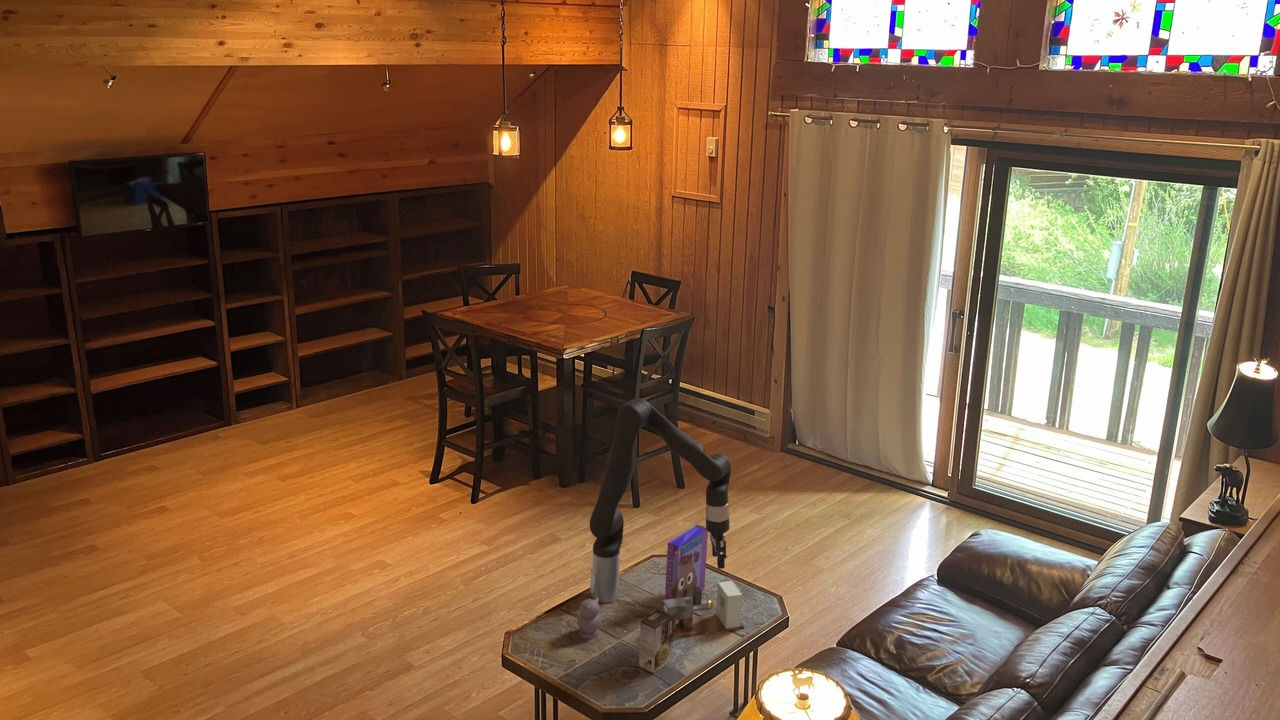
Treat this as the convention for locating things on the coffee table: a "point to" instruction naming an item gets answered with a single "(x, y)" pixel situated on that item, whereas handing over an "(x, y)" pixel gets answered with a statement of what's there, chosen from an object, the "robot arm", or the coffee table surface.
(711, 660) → the coffee table surface
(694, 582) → the cereal box
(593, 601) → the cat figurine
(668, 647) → the coffee box
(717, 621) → the board
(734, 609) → the socket block
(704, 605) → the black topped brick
